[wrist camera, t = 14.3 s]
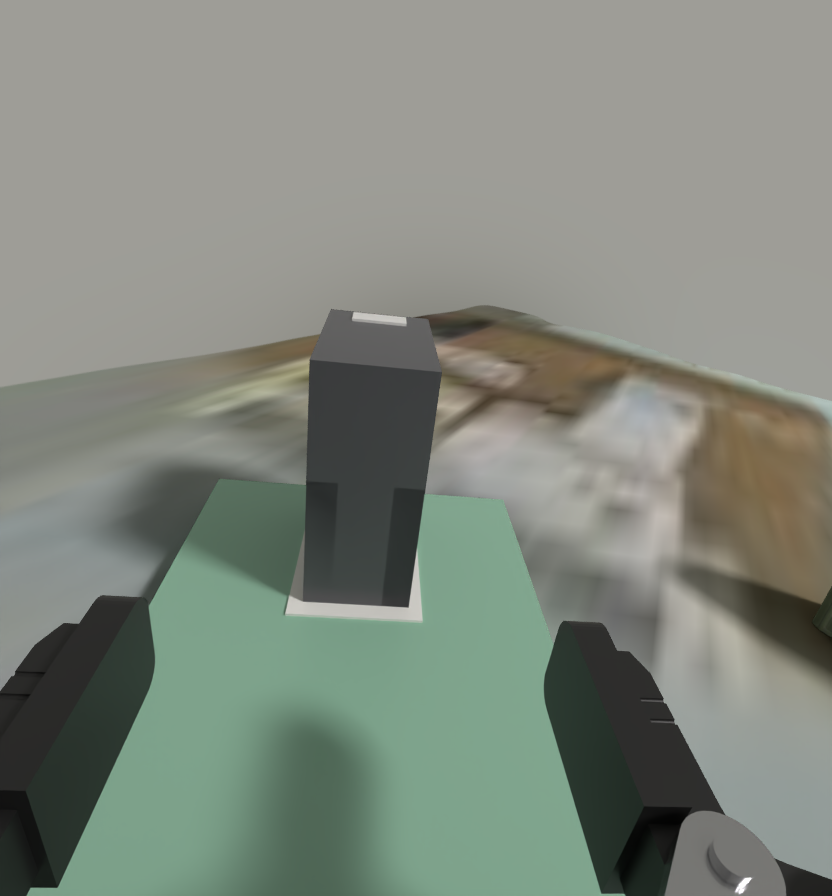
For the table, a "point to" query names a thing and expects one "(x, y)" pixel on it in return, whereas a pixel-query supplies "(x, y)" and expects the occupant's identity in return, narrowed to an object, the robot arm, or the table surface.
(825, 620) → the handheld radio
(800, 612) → the table surface
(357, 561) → the block
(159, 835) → the pale green flat block
